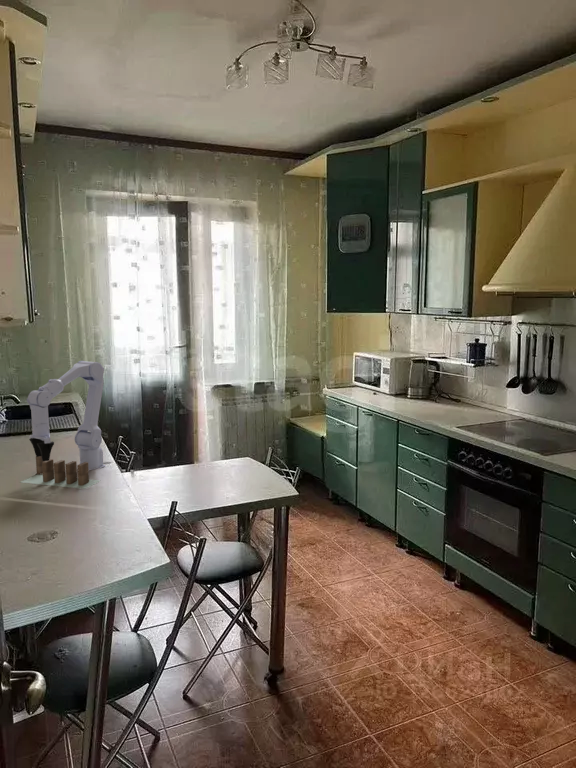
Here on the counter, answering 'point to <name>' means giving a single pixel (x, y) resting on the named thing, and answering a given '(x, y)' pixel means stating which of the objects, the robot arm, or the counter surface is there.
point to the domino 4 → (71, 472)
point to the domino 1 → (39, 465)
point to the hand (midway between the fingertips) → (42, 458)
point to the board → (39, 480)
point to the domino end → (83, 473)
